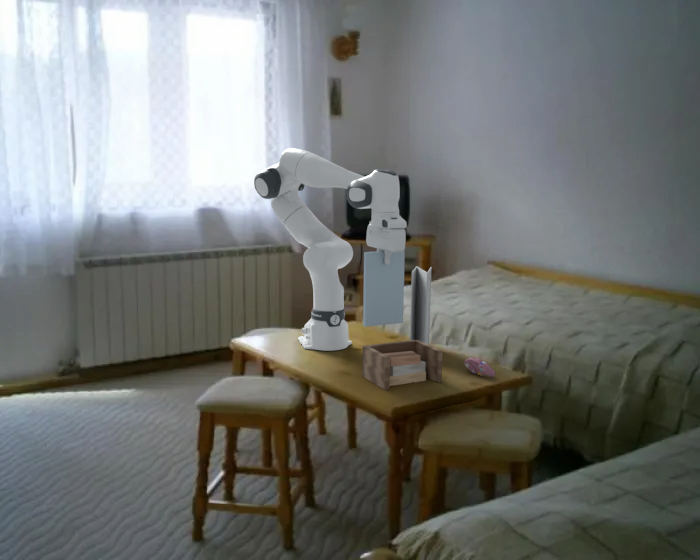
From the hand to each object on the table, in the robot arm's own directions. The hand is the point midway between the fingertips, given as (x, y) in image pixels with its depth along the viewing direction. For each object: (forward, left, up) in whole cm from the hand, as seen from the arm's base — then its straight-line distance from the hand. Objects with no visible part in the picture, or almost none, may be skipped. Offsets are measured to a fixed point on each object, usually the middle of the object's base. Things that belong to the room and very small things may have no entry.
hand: (384, 263), depth 235 cm
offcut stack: (+14, 0, -35) cm, 38 cm away
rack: (+12, 0, -35) cm, 37 cm away
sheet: (0, 0, -20) cm, 20 cm away
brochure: (-13, +22, -35) cm, 44 cm away
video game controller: (+19, +25, -35) cm, 47 cm away
